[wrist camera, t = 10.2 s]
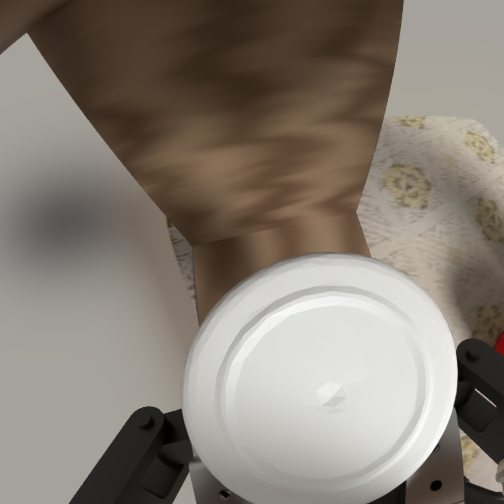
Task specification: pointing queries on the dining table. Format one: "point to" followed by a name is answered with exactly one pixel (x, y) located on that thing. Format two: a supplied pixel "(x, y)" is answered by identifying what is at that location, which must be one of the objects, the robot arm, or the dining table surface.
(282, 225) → the overhang stand
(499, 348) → the soda can
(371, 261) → the sprinkles bottle
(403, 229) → the dining table surface
